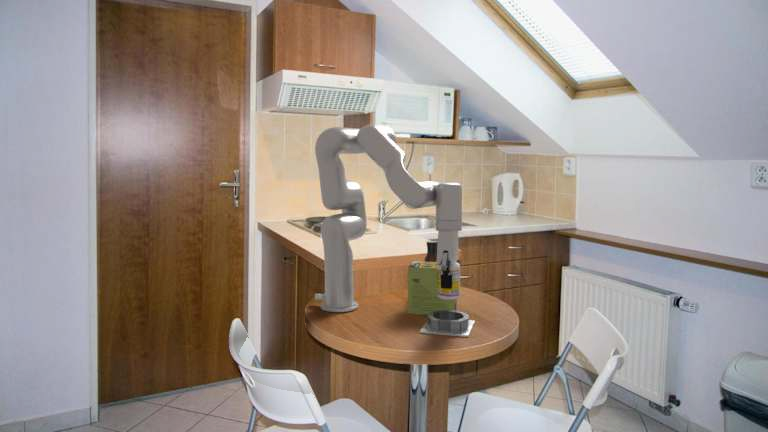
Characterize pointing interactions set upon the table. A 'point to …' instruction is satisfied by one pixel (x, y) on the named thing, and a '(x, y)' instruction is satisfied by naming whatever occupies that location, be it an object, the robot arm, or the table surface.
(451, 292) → the supplement bottle
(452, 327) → the ring collar
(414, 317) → the table surface
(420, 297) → the protein box
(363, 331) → the table surface
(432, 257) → the sauce bottle
